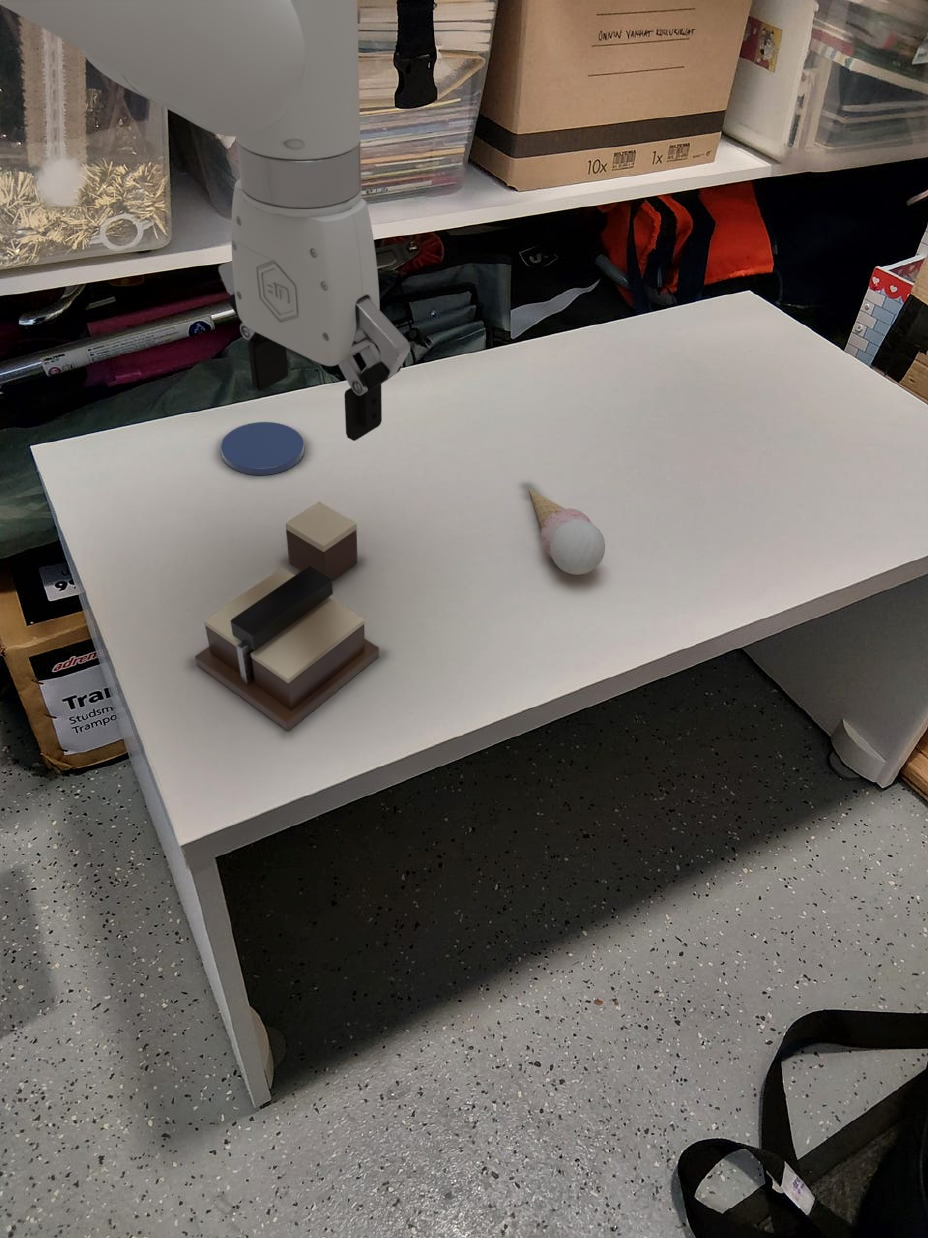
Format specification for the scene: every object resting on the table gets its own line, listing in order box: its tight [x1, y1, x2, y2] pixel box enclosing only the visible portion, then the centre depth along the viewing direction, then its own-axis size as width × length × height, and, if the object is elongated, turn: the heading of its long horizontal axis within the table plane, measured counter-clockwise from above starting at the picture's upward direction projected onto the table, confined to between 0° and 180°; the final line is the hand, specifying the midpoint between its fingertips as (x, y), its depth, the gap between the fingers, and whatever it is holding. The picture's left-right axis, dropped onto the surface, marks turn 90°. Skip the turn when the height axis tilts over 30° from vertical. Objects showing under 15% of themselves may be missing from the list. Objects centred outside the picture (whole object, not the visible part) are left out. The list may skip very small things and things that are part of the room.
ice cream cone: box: [528, 488, 606, 576], centre depth 85 cm, size 5×5×15 cm
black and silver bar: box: [231, 565, 334, 685], centre depth 70 cm, size 9×2×6 cm, turn 142°
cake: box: [194, 567, 380, 732], centre depth 72 cm, size 10×10×4 cm
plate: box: [220, 421, 305, 476], centre depth 92 cm, size 8×8×1 cm
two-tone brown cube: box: [285, 501, 358, 582], centre depth 80 cm, size 4×4×4 cm
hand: (316, 406), depth 71 cm, fingers open, 9 cm apart
